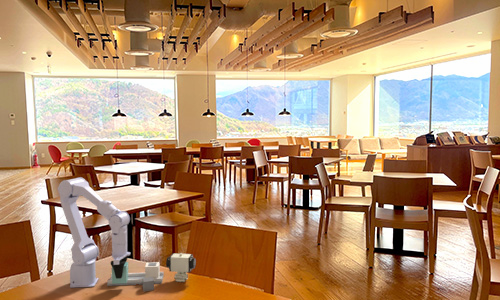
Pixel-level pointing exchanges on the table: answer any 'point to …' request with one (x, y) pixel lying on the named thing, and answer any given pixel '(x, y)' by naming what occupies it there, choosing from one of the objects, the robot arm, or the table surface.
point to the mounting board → (143, 275)
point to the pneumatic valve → (181, 265)
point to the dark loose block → (148, 284)
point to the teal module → (124, 275)
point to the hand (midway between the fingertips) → (120, 275)
